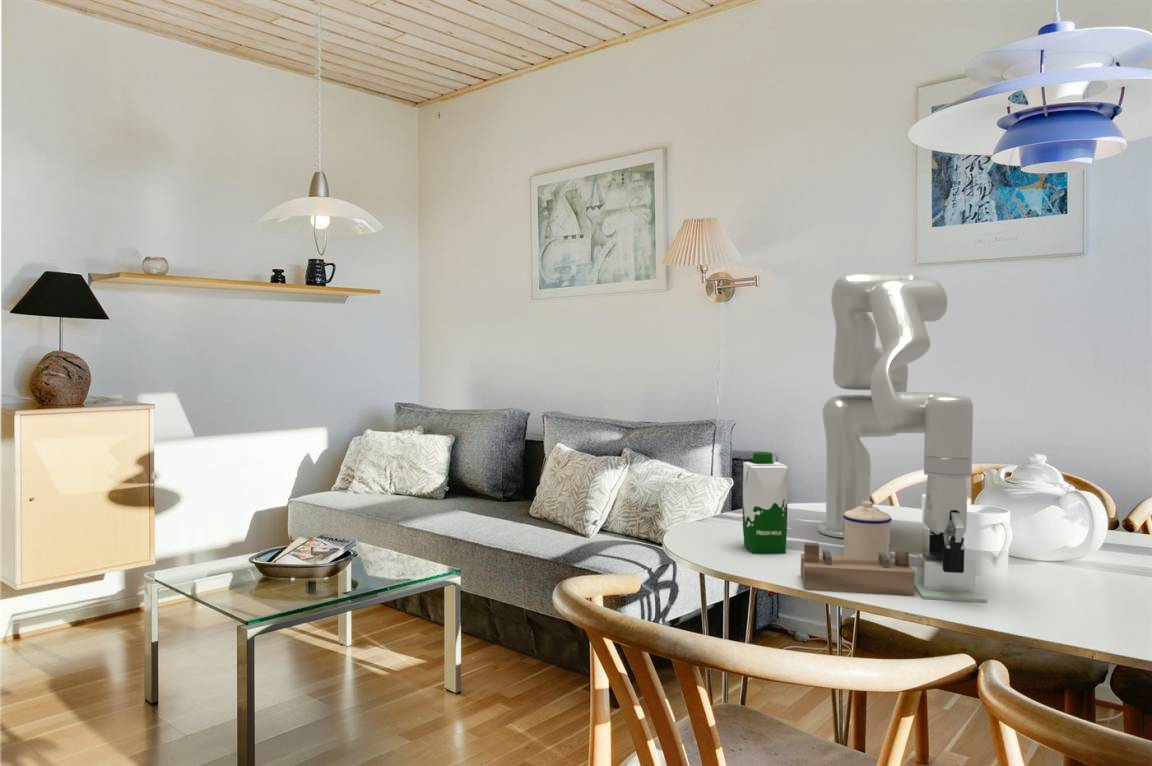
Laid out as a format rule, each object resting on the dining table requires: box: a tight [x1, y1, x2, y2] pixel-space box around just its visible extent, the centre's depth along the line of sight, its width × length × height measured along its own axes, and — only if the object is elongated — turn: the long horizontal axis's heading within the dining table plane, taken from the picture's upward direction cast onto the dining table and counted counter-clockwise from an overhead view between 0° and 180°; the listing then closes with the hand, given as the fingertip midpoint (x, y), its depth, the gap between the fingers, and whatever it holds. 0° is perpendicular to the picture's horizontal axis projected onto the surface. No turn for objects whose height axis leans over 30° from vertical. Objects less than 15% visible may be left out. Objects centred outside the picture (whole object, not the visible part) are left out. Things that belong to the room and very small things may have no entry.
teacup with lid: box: [842, 500, 893, 558], centre depth 160 cm, size 12×9×12 cm
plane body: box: [800, 541, 915, 597], centre depth 141 cm, size 9×18×7 cm, turn 78°
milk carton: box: [742, 451, 789, 554], centre depth 166 cm, size 9×9×20 cm
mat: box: [914, 575, 988, 603], centre depth 138 cm, size 12×10×1 cm
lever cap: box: [917, 551, 976, 593], centre depth 138 cm, size 5×8×6 cm, turn 79°
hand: (945, 564), depth 138 cm, fingers open, 9 cm apart
